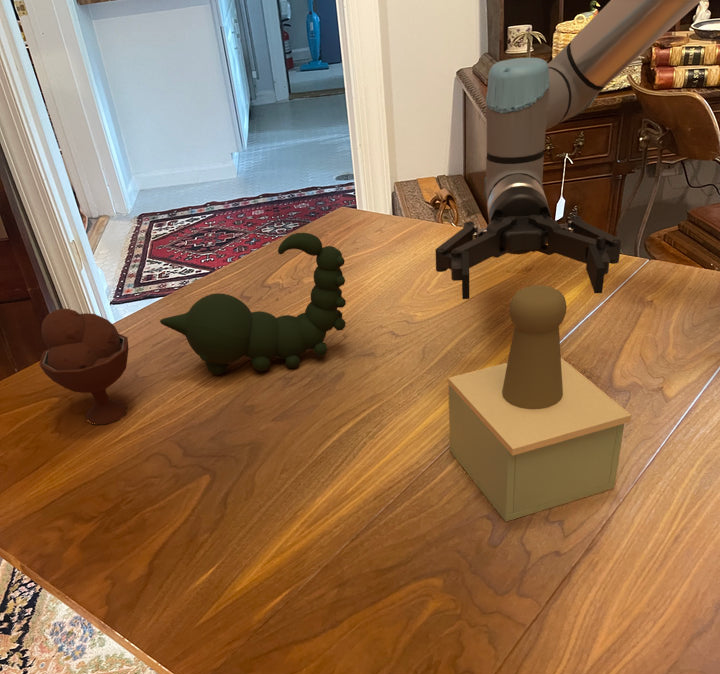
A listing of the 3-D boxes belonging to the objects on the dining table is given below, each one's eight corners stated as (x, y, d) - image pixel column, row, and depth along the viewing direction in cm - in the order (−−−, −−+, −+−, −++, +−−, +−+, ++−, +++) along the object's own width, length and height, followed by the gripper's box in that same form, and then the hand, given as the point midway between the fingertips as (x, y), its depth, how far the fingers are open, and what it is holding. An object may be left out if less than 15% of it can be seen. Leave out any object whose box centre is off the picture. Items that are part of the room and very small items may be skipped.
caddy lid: (630, 421, 70) (631, 414, 70) (512, 456, 68) (512, 448, 67) (552, 356, 81) (552, 350, 81) (448, 384, 79) (447, 377, 78)
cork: (516, 373, 78) (520, 274, 71) (571, 385, 75) (582, 283, 68) (492, 401, 74) (494, 299, 67) (549, 414, 71) (558, 309, 64)
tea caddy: (614, 488, 76) (625, 417, 71) (505, 522, 74) (508, 451, 68) (547, 423, 87) (552, 357, 81) (449, 450, 84) (448, 384, 79)
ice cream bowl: (94, 446, 92) (52, 338, 83) (50, 418, 98) (7, 315, 89) (163, 408, 97) (131, 303, 88) (118, 384, 104) (83, 284, 95)
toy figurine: (339, 346, 110) (170, 360, 107) (337, 219, 99) (147, 230, 96) (350, 376, 103) (168, 392, 100) (348, 242, 92) (143, 255, 88)
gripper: (617, 239, 93) (652, 312, 77) (420, 249, 97) (413, 322, 80) (624, 178, 89) (663, 241, 72) (418, 191, 92) (410, 255, 76)
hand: (532, 284), depth 76 cm, fingers open, 13 cm apart
